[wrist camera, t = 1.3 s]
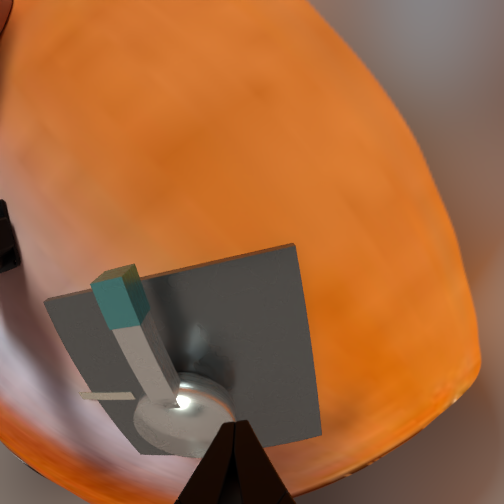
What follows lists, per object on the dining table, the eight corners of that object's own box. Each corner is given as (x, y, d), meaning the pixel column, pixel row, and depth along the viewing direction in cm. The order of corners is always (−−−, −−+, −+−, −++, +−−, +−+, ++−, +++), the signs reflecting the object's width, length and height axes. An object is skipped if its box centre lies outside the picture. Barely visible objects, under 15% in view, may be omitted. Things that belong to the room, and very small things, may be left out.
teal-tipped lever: (245, 427, 21) (247, 454, 18) (164, 434, 21) (159, 459, 18) (181, 248, 17) (170, 265, 14) (79, 274, 17) (56, 292, 14)
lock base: (129, 449, 26) (124, 463, 24) (35, 301, 20) (21, 312, 18) (320, 430, 26) (325, 446, 23) (293, 242, 20) (300, 252, 17)
